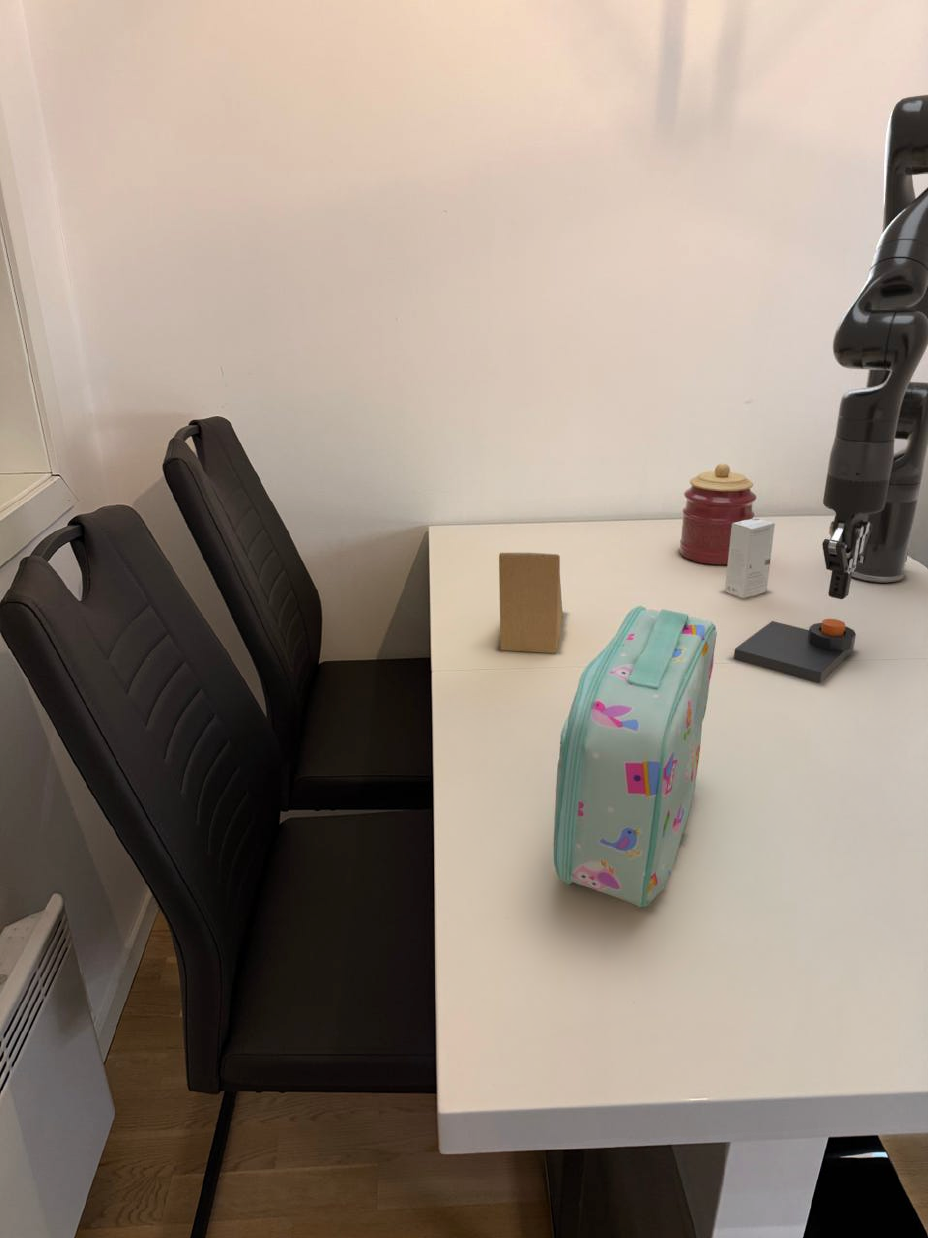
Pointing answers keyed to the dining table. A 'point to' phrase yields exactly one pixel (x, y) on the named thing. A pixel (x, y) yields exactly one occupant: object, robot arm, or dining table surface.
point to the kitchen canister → (714, 513)
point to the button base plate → (796, 650)
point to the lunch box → (633, 755)
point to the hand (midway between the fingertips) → (838, 596)
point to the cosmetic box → (749, 557)
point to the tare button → (833, 627)
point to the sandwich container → (530, 602)
